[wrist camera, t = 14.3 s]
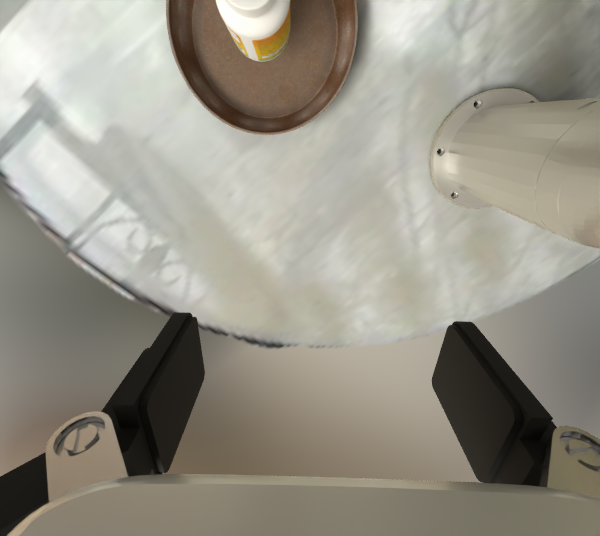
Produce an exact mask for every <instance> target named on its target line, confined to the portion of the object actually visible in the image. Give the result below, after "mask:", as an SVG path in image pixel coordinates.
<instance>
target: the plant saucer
mask: <svg viewBox="0 0 600 536" xmlns="http://www.w3.org/2000/svg"><path fill="white" fill-rule="evenodd" d="M166 18H167V29H168V35H169V40H170V45H171V49H172V52H173V55H174V58H175V61H176V63H177V66H178V68H179V71H180V73H181V75H182V77H183V79H184V80H185V82H186V84H187V85H188V87H189V89H190V90H191V91H192V93H193V94H194V96H195V97H196V98H197V99H198V101H199V102H200V103H201V104H202V105H203V106H204V107H205V108H206V109H207V110H208V111H209V112H210V113H211V114H213V115H214V116H215V117H216V118H218V119H219V120H221V121H222V122H224V123H226V124H227V125H229V126H231V127H233V128H236V129H238V130H241V131H244V132H248V133H253V134H260V135H274V134H281V133H286V132H289V131H292V130H295V129H297V128H300V127H302V126H304V125H306V124H307V123H309V122H311V121H312V120H313V119H315V118H316V117H317V116H319V115H320V114H321V113H322V112H323V111H324V110H325V109H326V108H327V107H328V106H329V105H330V103H331V102H332V101H333V100H334V98H335V97H336V96H337V94H338V92H339V91H340V89H341V88H342V86H343V84H344V82H345V79H346V77H347V75H348V73H349V70H350V67H351V64H352V61H353V57H354V53H355V48H356V41H357V31H358V12H357V1H356V0H290V34H289V39H288V42H287V44H286V46H285V48H284V50H283V51H282V52H281V53H280V54H279V55H278V56H277V57H276V58H274V59H272V60H269V61H263V62H261V61H255V60H252V59H250V58H248V57H247V56H246V55H244V54H243V53H242V52H241V51H240V49H239V48H238V47H237V45H236V43H235V42H234V40H233V38H232V36H231V34H230V32H229V30H228V28H227V26H226V24H225V22H224V20H223V19H222V17H221V15H220V12H219V10H218V7H217V4H216V0H166Z"/></svg>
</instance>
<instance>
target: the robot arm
mask: <svg viewBox="0 0 600 536" xmlns="http://www.w3.org/2000/svg"><path fill="white" fill-rule="evenodd" d="M475 102H476V105H475V107H474V103H475ZM438 149H440V152H439V153H437V151H438ZM430 173H431V177H432V180H433V183H434V185H435V187H436V188H437V190H438V192H439V193H440V194H441V195H442V196H443V197H444V198H446V199H447V200H449V201H450V202H452V203H454V204H456V205H458V206H461V207H465V208H474V209H480V208H487V207H491V206H495V207H497V208H499V209H501V210H503V211H506V212H508V213H510V214H512V215H514V216H517V217H519V218H521V219H523V220H525V221H528V222H530V223H532V224H534V225H536V226H539V227H541V228H543V229H545V230H548V231H550V232H552V233H555V234H557V235H559V236H561V237H564V238H566V239H568V240H570V241H573V242H576V243H579V244H581V245H585V246H589V247H594V248H600V98H588V99H575V100H562V101H549V102H539V100H538V99H536V98H535V97H534V96H532V95H531V94H530V93H527V92H525V91H522V90H520V89H514V88H500V89H493V90H488V91H485V92H482V93H479V94H477V95H474V96H473V97H471V98H469V99H468V100H466V101H464V102H463V103H462V104H461V105H459V106H458V107H457V108H456V109H455V110H454V111H453V112H452V113H451V114H450V115H449V116H448V117H447V118H446V120H445V121H444V123H443V124H442V126H441V127H440V129H439V130H438V132H437V135H436V137H435V139H434V142H433V145H432V149H431V153H430ZM452 193H453V195H452V196H451V194H452ZM204 375H205V371H204V364H203V357H202V350H201V343H200V337H199V330H198V323H197V318H196V317H192V314H191V313H176V312H175V313H173V315H172V316H171V317H170V319H169V321H168V322H167V323H166V325H165V326H164V328H163V329H162V331H161V332H160V334H159V335H158V337H157V338H156V340H155V341H154V343H153V344H152V346H151V347H150V348H147V349H145V350H144V351H143V353H142V354H141V355H140V357H139V358H138V360H137V361H136V362H135V364H134V365H133V367H132V368H131V370H130V371H129V373H128V374H127V375H126V377H125V378H124V380H123V381H122V383H121V384H120V385H119V387H118V388H117V390H116V391H115V393H114V394H113V395H112V397H111V398H110V400H109V402H108V403H107V404H106V406H105V407H104V408H103V410H102V411H101V412H97V411H94V412H88V413H84V414H81V415H79V416H76V417H74V418H73V419H71V420H69V421H67V422H66V423H65V424H63V425H62V426H61V427H59V428H58V429H57V430H56V432H55V433H54V434H53V435H52V436H51V438H50V440H49V441H48V443H47V446H46V452H45V453H43V454H41V455H40V456H38V457H36V458H34V459H32V460H30V461H28V462H27V463H25V464H23V465H21V466H19V467H17V468H16V469H14V470H12V471H10V472H8V473H6V474H4V475H3V476H1V477H0V536H600V439H598V438H596V437H595V436H593V435H591V434H590V433H588V432H586V431H583V430H581V429H578V428H574V427H569V426H560V427H558V428H557V427H556V426H555V425H554V423H553V422H552V421H551V420H552V419H553V418H552V417H551V416H550V414H549V413H548V412H547V411H546V410H545V408H544V407H543V406H542V405H541V403H540V402H539V401H538V400H537V399H536V398H535V396H534V395H533V394H532V393H531V391H530V390H529V389H528V388H527V387H526V386H525V385H524V383H523V382H522V381H521V380H520V378H519V377H518V376H517V375H516V374H515V372H514V371H513V370H512V369H511V368H510V367H509V365H508V364H507V363H506V362H505V360H504V359H503V358H502V357H501V356H500V354H499V353H498V352H497V351H496V350H495V348H494V347H493V346H492V345H491V344H490V342H489V341H488V340H487V339H486V338H485V336H484V335H483V334H482V333H481V332H480V330H479V329H478V328H477V327H476V326H475V324H473V323H472V322H457V321H456V322H454V323H453V324H452V325H450V326H448V328H447V331H446V334H445V338H444V341H443V344H442V347H441V351H440V354H439V357H438V361H437V364H436V367H435V370H434V374H433V377H432V386H433V389H434V391H435V393H436V395H437V397H438V399H439V401H440V403H441V405H442V407H443V409H444V411H445V413H446V415H447V418H448V420H449V422H450V424H451V426H452V428H453V430H454V432H455V434H456V436H457V438H458V440H459V442H460V445H461V447H462V449H463V451H464V453H465V455H466V457H467V459H468V461H469V463H470V465H471V467H472V469H473V471H474V474H475V476H476V477H477V479H478V480H479V481H480V482H483V483H476V482H450V481H449V482H447V481H422V480H420V481H419V480H393V479H362V478H361V479H360V478H330V477H295V476H293V477H292V476H255V475H253V476H252V475H202V474H199V475H196V474H194V475H193V474H188V475H187V474H186V475H185V474H163V475H162V473H166V472H167V471H168V470H169V468H170V466H171V463H172V461H173V458H174V455H175V453H176V450H177V448H178V445H179V442H180V440H181V437H182V434H183V432H184V429H185V427H186V424H187V422H188V419H189V417H190V414H191V411H192V409H193V406H194V403H195V401H196V399H197V396H198V393H199V391H200V388H201V386H202V383H203V380H204Z"/></svg>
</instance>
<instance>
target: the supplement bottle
mask: <svg viewBox="0 0 600 536" xmlns="http://www.w3.org/2000/svg"><path fill="white" fill-rule="evenodd" d="M216 4H217V7H218V10H219V12H220V15H221V17H222V19H223V20H224V22H225V24H226V26H227V28H228V30H229V32H230V34H231V36H232V38H233V40H234V42H235V43H236V45H237V47H238V48H239V49H240V51H241V52H242V53H243V54H244V55H246V56H247V57H248V58H250V59H252V60H255V61H261V62H263V61H269V60H272V59H274V58H276V57H277V56H278V55H279V54H280V53H281V52H282V51H283V50H284V48H285V46H286V44H287V42H288V39H289V34H290V0H216Z"/></svg>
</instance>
